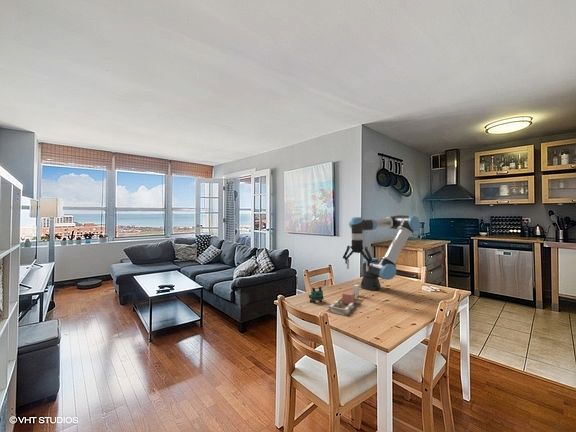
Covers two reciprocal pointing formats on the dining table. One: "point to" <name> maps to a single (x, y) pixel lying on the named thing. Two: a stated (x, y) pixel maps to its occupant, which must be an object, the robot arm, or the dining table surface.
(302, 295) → the dining table surface
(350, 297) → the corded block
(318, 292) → the green toy creature
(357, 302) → the lane shelf
